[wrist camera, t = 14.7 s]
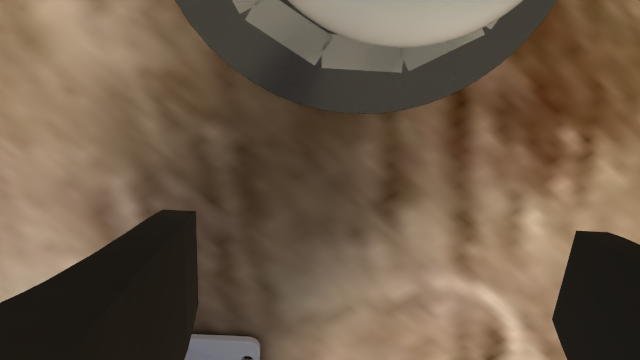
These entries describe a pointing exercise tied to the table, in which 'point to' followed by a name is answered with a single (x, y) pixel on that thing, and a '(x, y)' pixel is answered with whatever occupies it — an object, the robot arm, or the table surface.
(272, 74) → the lamp base
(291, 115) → the table surface
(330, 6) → the lightbulb
